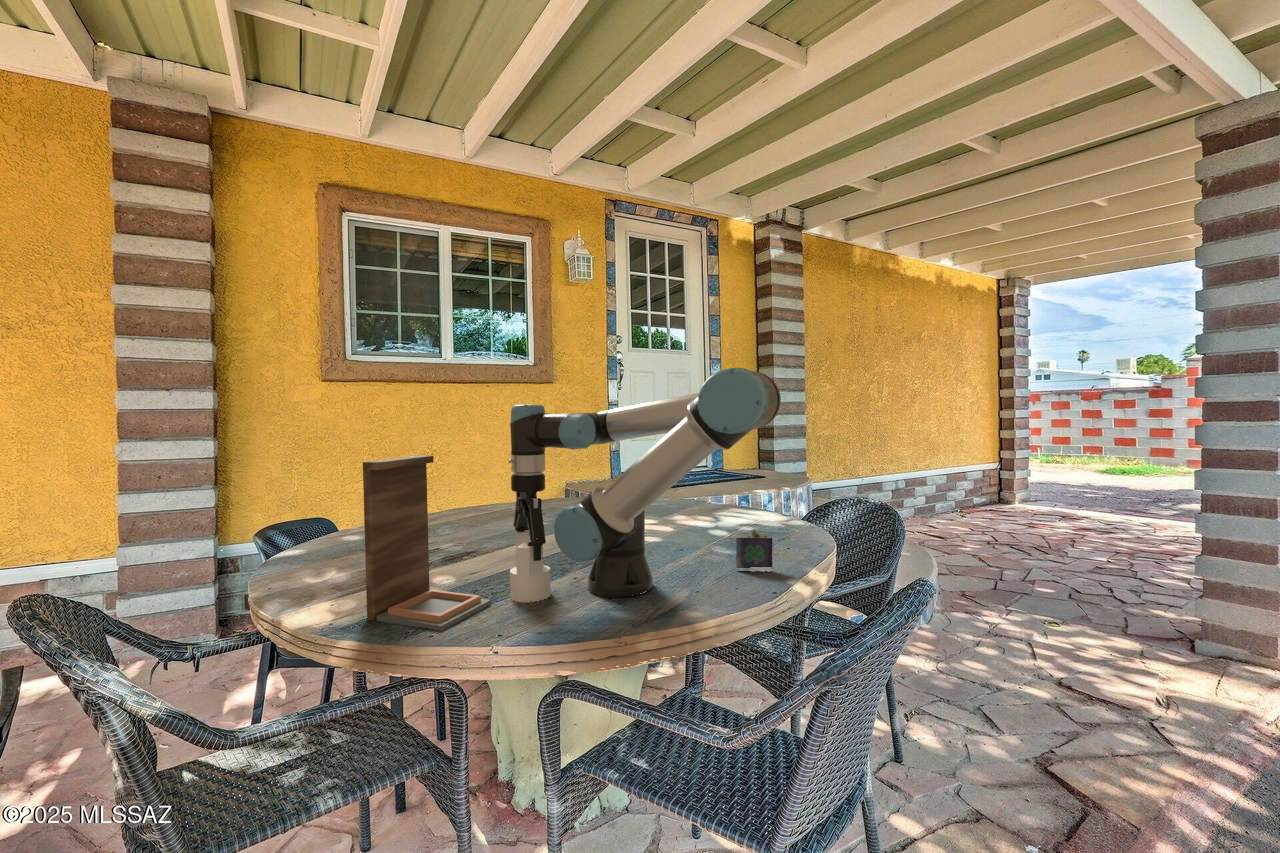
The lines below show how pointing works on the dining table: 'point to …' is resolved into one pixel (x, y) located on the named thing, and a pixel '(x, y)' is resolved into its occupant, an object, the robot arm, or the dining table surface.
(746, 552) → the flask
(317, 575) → the dining table surface
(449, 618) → the square coaster tray
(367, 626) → the dining table surface
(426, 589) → the brown wooden panel
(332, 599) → the dining table surface
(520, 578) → the cylinder with rectangular tab
